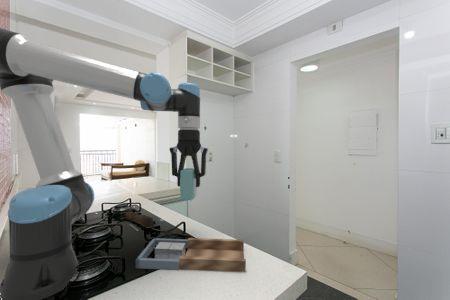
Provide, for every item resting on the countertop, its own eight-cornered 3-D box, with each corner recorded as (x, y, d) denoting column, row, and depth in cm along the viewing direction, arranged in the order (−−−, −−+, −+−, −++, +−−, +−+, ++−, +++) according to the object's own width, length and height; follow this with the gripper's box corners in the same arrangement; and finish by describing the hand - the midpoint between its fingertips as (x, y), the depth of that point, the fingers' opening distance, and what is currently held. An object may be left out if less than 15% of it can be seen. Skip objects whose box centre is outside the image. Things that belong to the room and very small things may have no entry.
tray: (135, 272, 58) (135, 259, 58) (153, 248, 71) (153, 238, 71) (178, 274, 58) (179, 261, 57) (189, 249, 71) (189, 239, 70)
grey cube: (154, 261, 62) (154, 248, 62) (159, 254, 66) (159, 242, 66) (168, 262, 62) (168, 249, 62) (172, 255, 66) (172, 242, 66)
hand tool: (123, 220, 96) (123, 210, 96) (132, 218, 99) (132, 208, 99) (146, 232, 84) (146, 220, 84) (155, 229, 87) (155, 218, 87)
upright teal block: (180, 200, 72) (180, 170, 71) (185, 194, 79) (186, 168, 78) (192, 200, 71) (192, 170, 71) (196, 195, 78) (196, 168, 78)
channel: (179, 273, 58) (179, 258, 58) (188, 250, 70) (188, 237, 70) (245, 276, 57) (245, 261, 57) (243, 252, 70) (243, 239, 69)
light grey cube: (168, 262, 62) (168, 249, 62) (172, 255, 66) (172, 242, 66) (182, 263, 62) (182, 249, 62) (185, 255, 66) (185, 243, 66)
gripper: (161, 128, 71) (161, 197, 72) (211, 129, 70) (211, 199, 71) (168, 129, 79) (168, 192, 80) (214, 130, 77) (214, 194, 78)
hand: (188, 195), depth 75 cm, fingers closed on upright teal block, 4 cm apart
